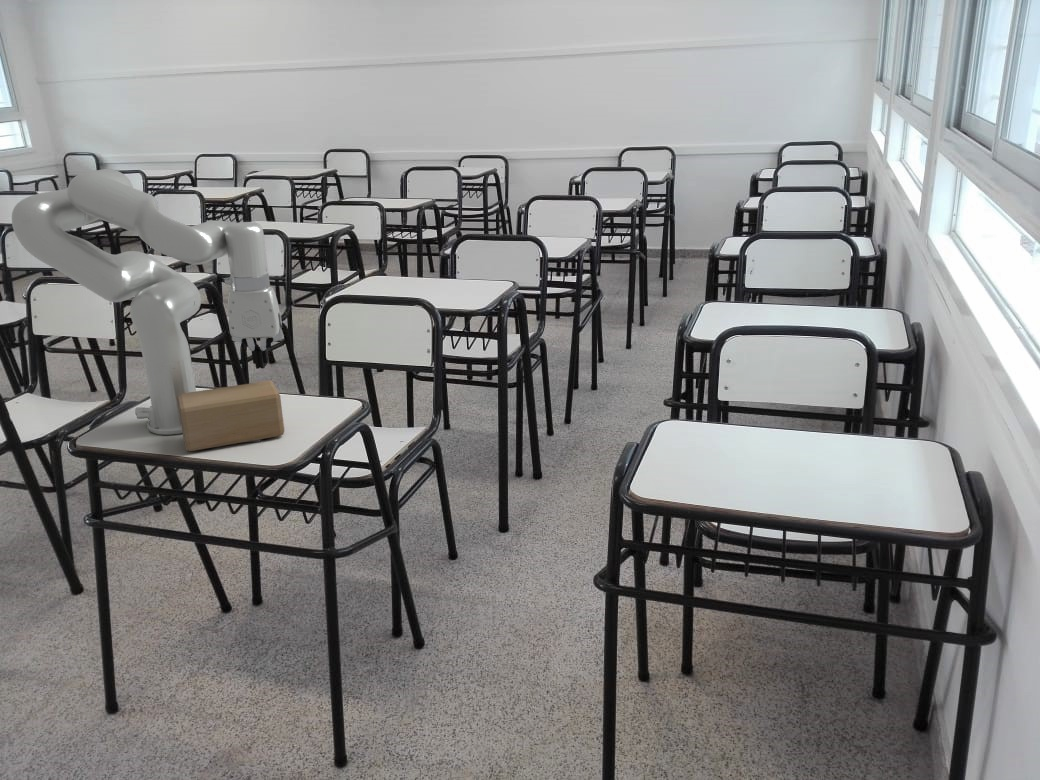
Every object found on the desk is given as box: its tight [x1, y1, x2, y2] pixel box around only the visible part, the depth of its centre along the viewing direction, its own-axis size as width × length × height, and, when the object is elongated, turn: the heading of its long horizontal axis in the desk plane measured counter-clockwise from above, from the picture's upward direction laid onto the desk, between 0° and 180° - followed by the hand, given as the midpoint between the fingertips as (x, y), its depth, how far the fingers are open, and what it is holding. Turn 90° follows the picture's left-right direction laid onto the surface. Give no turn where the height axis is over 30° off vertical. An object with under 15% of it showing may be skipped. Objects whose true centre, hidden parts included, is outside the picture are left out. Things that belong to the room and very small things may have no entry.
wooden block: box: [177, 380, 285, 452], centre depth 179 cm, size 10×10×20 cm
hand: (261, 366), depth 182 cm, fingers closed
